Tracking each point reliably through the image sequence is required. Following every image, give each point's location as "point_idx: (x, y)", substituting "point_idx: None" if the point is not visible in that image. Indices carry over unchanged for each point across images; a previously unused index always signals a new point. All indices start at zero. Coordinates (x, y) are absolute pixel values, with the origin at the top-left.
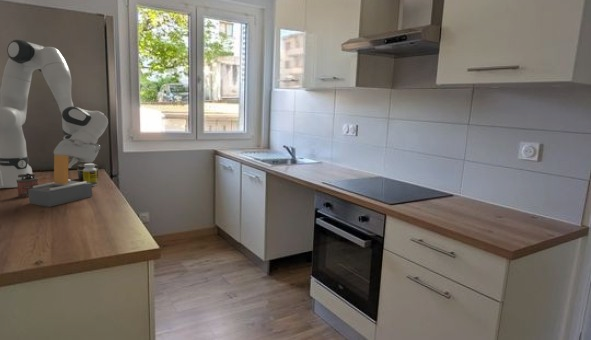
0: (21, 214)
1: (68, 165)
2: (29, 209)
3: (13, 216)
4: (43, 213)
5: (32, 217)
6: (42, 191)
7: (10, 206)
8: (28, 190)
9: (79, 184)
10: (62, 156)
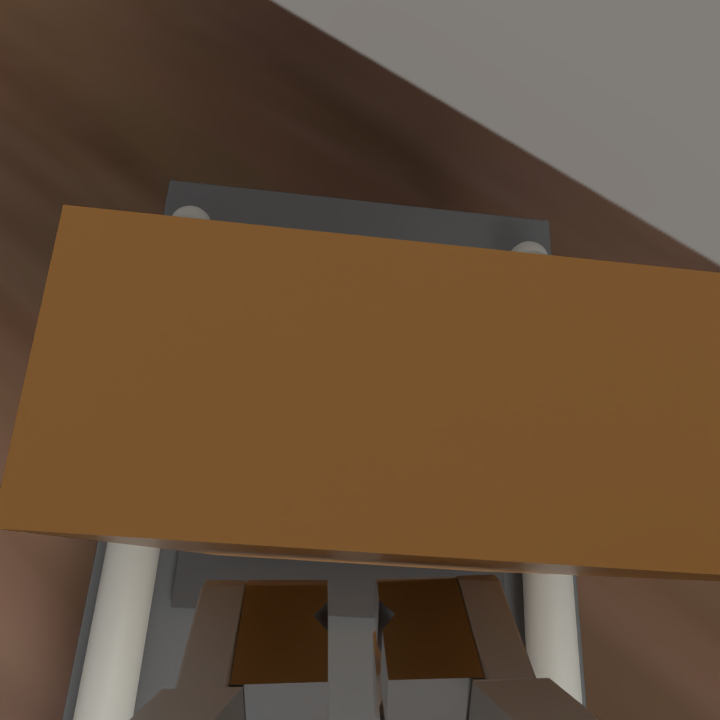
0: (214, 59)
1: (198, 600)
2: (292, 169)
3: (221, 15)
4: (62, 118)
5: (55, 27)
6: (280, 192)
7: (535, 188)
8: (539, 228)
9: (75, 708)
10: (216, 239)
